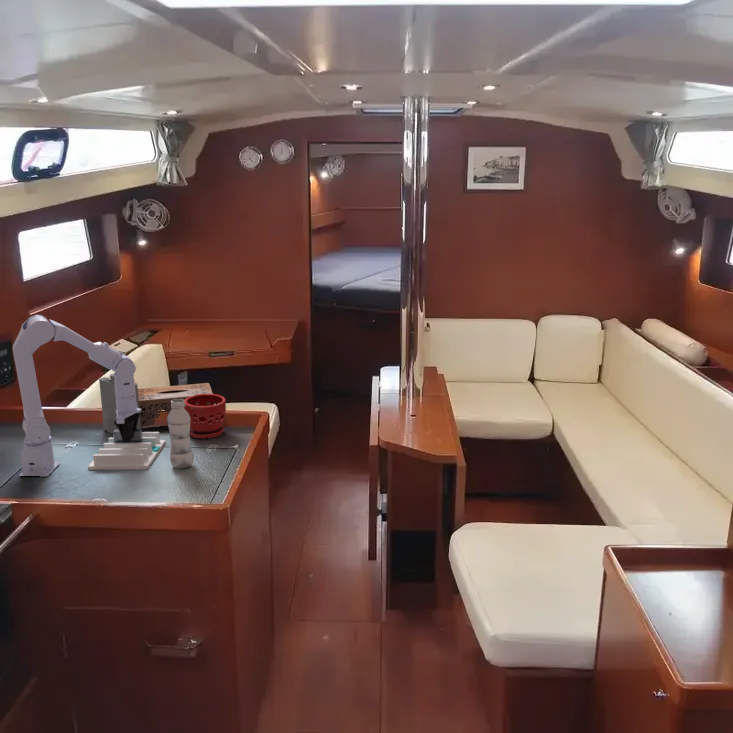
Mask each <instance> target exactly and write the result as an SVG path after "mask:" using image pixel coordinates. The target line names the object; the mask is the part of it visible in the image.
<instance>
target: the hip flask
mask: <svg viewBox="0 0 733 733" xmlns="http://www.w3.org/2000/svg"><path fill="white" fill-rule="evenodd" d="M114 381H115V379H114V373H112V374H109V377H106V376H104V377H100V378H98V382H99V392H100V393H99V394H100V402H101V409H102V410H101V413H102V423H103V424H102V425H103V430H104V431H105V430H107V431H109V432H112V433H113V431H114V430H116V429H118V428H117V426H116V425H115V424H114V420H115V419H116V417H117V413H116V410H117V406H116V395H115V384H114ZM138 387H139V386H138V383H137V382H135V391H136V402H137V408H139V398H138V389H139V388H138ZM137 429H141V422H140V416H139V419H138V423H137ZM107 431H106V432H107ZM109 432H108V433H109ZM112 433H111V434H112Z"/></svg>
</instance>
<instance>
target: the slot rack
mask: <svg viewBox="0 0 733 733" xmlns="http://www.w3.org/2000/svg"><path fill="white" fill-rule="evenodd" d="M160 437H161V436H160V432H159V431H142V439H143V443H114V437H113V436H112V437H108V438H107V440H108V441H107V442H104V443H103V448H98V449H97V450H98V454H97V453H95V454H93V455H92V459H93V460H92V461H91V462H90V463H89V465H88V466H87V470H88V471H97V470H98V471H100V470H101V471H102V470H103V471H104V470H105V471H106V470H108V471H109V470H117V471H118V470H149V468H150V467H151V465H152V464H153V462H154V461H155V460H156V458H157V456H158V454H160V452H161V451H162V449H163V448H164V446H165V444H166V439H161V438H160Z"/></svg>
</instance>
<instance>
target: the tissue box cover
mask: <svg viewBox="0 0 733 733" xmlns="http://www.w3.org/2000/svg"><path fill="white" fill-rule="evenodd" d="M199 394H214V393H213V391H212V387H211V385H210V383H209V382H205V383H203V382H202V383H193V384H181V385H169V386H157V387H144V388H138V398H139V408H140V409H141V414H140V422H141V427H143V426H149V425H154V424H155V421H156V420H154V419H155V418H158V417H159V416H160V415H161V414H157V413H160V412H167V413H170V411H171V410H172V408H171V401H172V400H174V399H183V400H184V401H185V399H186V398H188V397H190V396H194V395H199ZM206 404H207V405H210V402H209V401H207V402H206ZM196 405H198V402H197V403H196ZM158 410H159V411H158ZM161 410H165V411H161Z"/></svg>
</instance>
